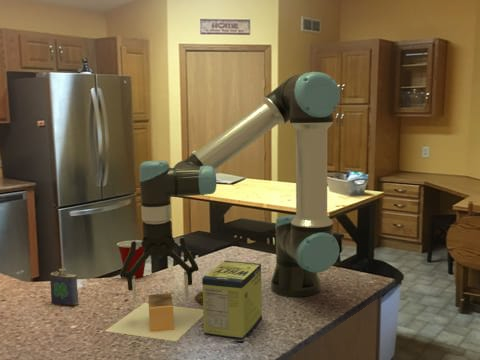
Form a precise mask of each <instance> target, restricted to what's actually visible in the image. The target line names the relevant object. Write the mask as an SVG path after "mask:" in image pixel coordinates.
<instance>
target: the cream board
mask: <svg viewBox="0 0 480 360" xmlns="http://www.w3.org/2000/svg"><path fill="white" fill-rule="evenodd" d="M173 314H174V330H163V331H153V332H150V321H149V302H143V303H142V304H141V305H139V306H138V307H136V309H133V310H132V311H131V312H129V313H128V314H126V315H125V316H124V317H123V318H121V319H119V321H117V322H116V323H114V324H112V325H111V326H110V327H108V328H106V330H104V332H108V333H115V334H120V335H122V334H123V335H130V336H136V337H143V338H151V339H155V340H163V341H172V342H177V341H178V340H179V339H181V337H182V336H183V335H184V334H185V333H187V332H188V331H189V330H190V329H192V328H193V326H194V325H195V324H196V323H198V321H199V320H200V319H202V318H203V317H204V313H203V309H200V308H194V307H193V308H191V307H183V306H175V305H173Z"/></svg>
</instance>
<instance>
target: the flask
mask: <svg viewBox="0 0 480 360" xmlns="http://www.w3.org/2000/svg"><path fill="white" fill-rule="evenodd" d="M66 270H67V269H66V268H59V269H58V271H53V272H51V273H50V274H49V279H50V280H49V281H50V297H51V301H50V303H51V304H52V305H57V306H64V307H67V306H68V307H77V306H78V305H79V295H78V294H79V293H78V292H79V291H78V290H79V289H78V276H77V274H74V273H73V274H71V273H69V274H68V273H66Z"/></svg>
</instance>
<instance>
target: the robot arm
mask: <svg viewBox="0 0 480 360" xmlns="http://www.w3.org/2000/svg"><path fill="white" fill-rule="evenodd" d="M340 98H341V93H340V88H339V86H338V84H337V82H336V81H335V80H334V79H333V78H332V76H331V75H329V74H326V73H325V72H320V71H319V72H318V71H311V72H305V73H301V74H300V73H299V74H294V75H292V76H291V77H288V78H287V79H285V80H284V81H283V82H282V83H281V84H280V85H278V86H277V87H276V88H275V89H274V90H272V91H271V92H270V93H269V94H267V95H265V96H264V97H263V98H262V103H260V105H258V106H256V107H255V108H254V109H253V110H251V111H250V112H248V113H247V114H246V115H244V116H243V117H242V118H240V119H238V121H236V122H235V123H233V124H232V125H230V126H229V127H228V128H226V130H224V131H223V132H221V133H220V134H218V135H217V136H216V137H214V138H213V139H212V140H210V141H209V142H207V143H206V144H205V145H203V146H202V147H200V149H198V150H196V151H194V153H192V154H191V155H190V156H189V157H187V158H186V159H184V160H180V161H178V162H177V163H176V164H174V165H173V167H170V165H169V162H168V161H167V160H148V161H143V162H142V163H140V165H139V180H138V181H139V191H140V202H141V203H140V204H141V206H140V207H141V220H142V221H143V223H142V241H136V240H137V239H132V240H130V241H131V249H130V251H129V254H128V256H127V258H126V260H125V263H124V265H123V264H122V267H121V270H120V272H119V277H120V278H123V279H127V290H128V291H129V292H130V291H131V292H132V300H133V301H132V303H133V304H134V305H136V304H137V286H136V285H137V284H136V279H135V276H134V274H135V273H136V272H137V271H138V269H139V268H140V267H141V265H142V264H143V263H144V262H145V263H146V261H147V260H148V259H149V257H150V256H151V257H153V258H157V257H165V256H166V255H168V256H170V257H171V258H172V259H173V261H175V262H176V263H177V265H179V266H180V267H181V268H182V269H183V270H184V272H183V279H184V296H185V299H186V300H187V299H189V298H190V297H189V286H192V285H193V273H195V272H198V271H199V270H200V269H199V266H198V264H197V262H196V260H195V259H194V257H193V255H192V253H191V252H190V250H189V249H188V247H187V245H186V241H185V237H184V235H180V236H179V237H174V236H173V223H172V220H171V219H172V207H171V205H172V204H171V202H172V201H171V198H177V197H189V196H190V197H191V196H192V197H193V196H202V197H203V196H206V195H212V194H214V193H215V192H216V190H217V174H216V170H217V169H220V168H221V166H223V165H225V163H227V162H229V161H231V159H232V158H234V157H235V156H237V155H238V154H239V153H241V152H242V151H243V150H244V149H246V148H247V147H249V146H250V145H251V144H253V143H254V142H255V141H257V140H258V139H260V138H262V136H264V135H265V134H267V133H268V132H269V131H271V130H272V129H273V128H275V127H276V126H277V125H281V126H283V125H284V124H286V123H287V122H289V124H290V125H291V126H292V127H293V129H294V131H295V202H296V203H295V205H296V207H295V211H296V213H295V214H290V215H289V214H288V215H281V216H279V217H277V218H276V220H275V253H276V256H275V259H276V260H275V261H276V262H275V263H276V264H275V268H274V270H273V274H272V277H271V280H270V289H271V291H272V292H273V293H275V294H277V295H279V296H282V297H283V296H284V297H291V298H293V297H295V298H301V297H308V296H313V295H315V294H318V293H319V292H320V290H321V281H320V278H319V274H318V273H324V272H325V271H328V270H330V268H331V267H333V265H334V264H336V262H337V260H338V259H339V255H340V245H339V243H338V240H337V239H336V237H335V236H334V221H333V220H332V219H331V218H330V217H329V216H328V130H329V128H330V127H331V126H332V125H333V124H334V112H335V110H336V109H337V108H338V106H339V103H340V101H341V100H340ZM175 244H177V246H178V247H181V250H182V251H183V253H184V255H185V257H186V258H187V260H188V262H189V264H190V266H189V264H187V262H185V260H184V259H183V258H182V257H181V256H180V255H178V254H177V252H175V250H174V249H173V247H174V245H175ZM139 246H142V247H143V248H144V249H145V251H144V252H143V254H142V255H141V257H140V258H139V259H138V261H137V262H136V263H135V264H134V266H133V267H132V268H131V270H130V271H129V272H127V269H128V267H129V265H130V263H131V260H132V258H133V256H134V254H135V250H136V249H138V248H139ZM145 260H146V261H145Z"/></svg>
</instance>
